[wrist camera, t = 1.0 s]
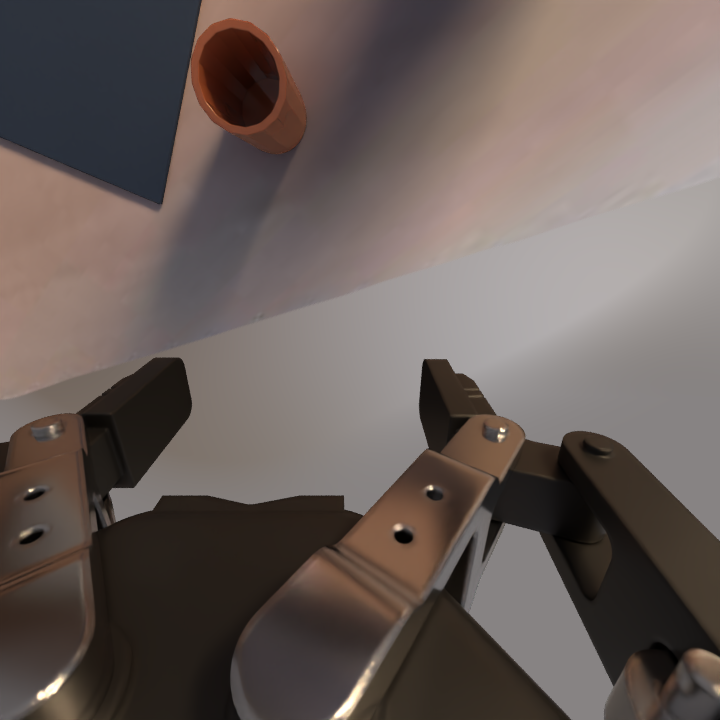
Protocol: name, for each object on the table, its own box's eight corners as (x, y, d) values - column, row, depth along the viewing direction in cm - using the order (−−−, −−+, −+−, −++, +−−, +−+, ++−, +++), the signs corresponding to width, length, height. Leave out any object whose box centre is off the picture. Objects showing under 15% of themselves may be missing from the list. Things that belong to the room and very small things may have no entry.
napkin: (-57, -179, 24) (-64, -185, 24) (208, -35, 27) (206, -38, 27) (-52, 114, 31) (-57, 113, 30) (162, 204, 34) (160, 204, 33)
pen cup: (256, 59, 29) (212, -6, 20) (318, 102, 31) (302, 59, 22) (229, 129, 31) (177, 98, 22) (288, 167, 33) (262, 153, 23)
